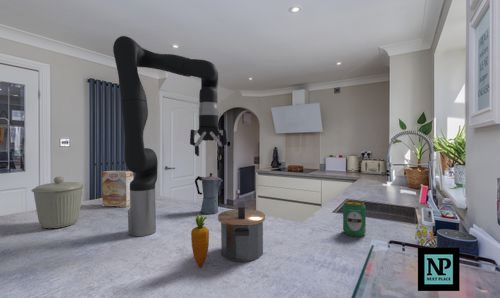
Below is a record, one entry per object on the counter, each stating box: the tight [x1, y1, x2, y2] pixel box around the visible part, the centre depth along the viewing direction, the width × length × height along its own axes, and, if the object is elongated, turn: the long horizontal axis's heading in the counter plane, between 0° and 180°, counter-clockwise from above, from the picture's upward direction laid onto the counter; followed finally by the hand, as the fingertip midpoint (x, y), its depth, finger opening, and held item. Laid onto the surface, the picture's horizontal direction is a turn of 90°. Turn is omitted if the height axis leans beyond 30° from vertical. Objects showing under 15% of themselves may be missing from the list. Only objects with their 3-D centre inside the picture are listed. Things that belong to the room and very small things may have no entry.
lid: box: [217, 200, 266, 226], centre depth 81 cm, size 15×15×5 cm
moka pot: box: [194, 172, 224, 215], centre depth 129 cm, size 10×15×20 cm, turn 79°
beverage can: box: [342, 199, 367, 238], centre depth 98 cm, size 8×8×12 cm
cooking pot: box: [220, 221, 264, 263], centre depth 81 cm, size 13×17×11 cm
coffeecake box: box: [101, 170, 134, 208], centre depth 144 cm, size 15×7×20 cm, turn 81°
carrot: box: [190, 214, 210, 268], centre depth 72 cm, size 5×5×15 cm
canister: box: [31, 176, 85, 230], centre depth 110 cm, size 18×18×21 cm
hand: (208, 156), depth 100 cm, fingers open, 8 cm apart
